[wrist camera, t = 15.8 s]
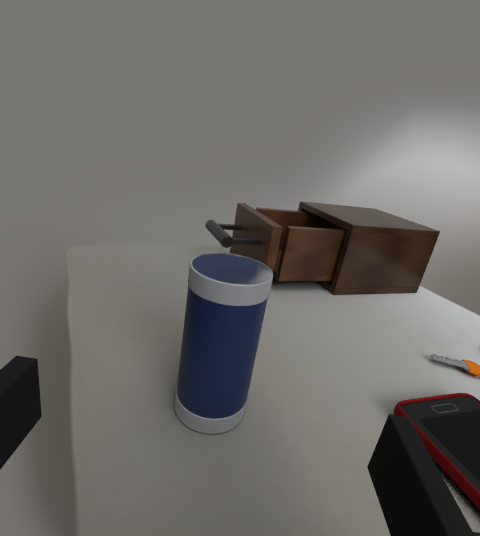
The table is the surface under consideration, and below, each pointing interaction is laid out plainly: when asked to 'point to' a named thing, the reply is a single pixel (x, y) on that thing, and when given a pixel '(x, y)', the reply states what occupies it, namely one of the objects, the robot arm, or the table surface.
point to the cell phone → (450, 435)
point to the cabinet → (376, 250)
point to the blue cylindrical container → (220, 339)
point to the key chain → (459, 364)
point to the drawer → (284, 242)
